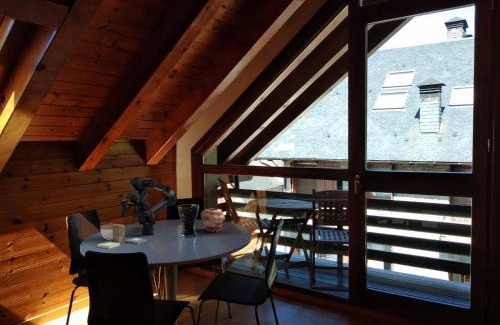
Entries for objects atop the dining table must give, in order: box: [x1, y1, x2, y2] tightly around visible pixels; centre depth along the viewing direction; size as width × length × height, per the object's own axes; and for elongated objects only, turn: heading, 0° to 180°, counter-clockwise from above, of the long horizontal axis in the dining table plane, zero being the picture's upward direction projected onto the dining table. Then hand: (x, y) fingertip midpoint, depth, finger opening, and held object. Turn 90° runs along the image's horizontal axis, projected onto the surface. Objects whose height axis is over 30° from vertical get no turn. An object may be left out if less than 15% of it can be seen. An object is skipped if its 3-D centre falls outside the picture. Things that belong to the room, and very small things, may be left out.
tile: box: [125, 237, 148, 245], centre depth 221 cm, size 8×9×1 cm
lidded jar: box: [99, 222, 117, 241], centre depth 229 cm, size 11×11×9 cm
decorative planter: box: [200, 207, 226, 233], centre depth 250 cm, size 20×12×14 cm, turn 57°
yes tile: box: [96, 241, 121, 250], centre depth 212 cm, size 8×9×1 cm
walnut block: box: [112, 223, 126, 245], centre depth 219 cm, size 4×5×10 cm
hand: (127, 217), depth 225 cm, fingers open, 9 cm apart
